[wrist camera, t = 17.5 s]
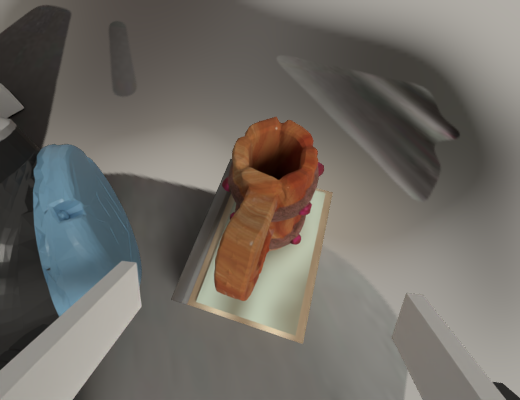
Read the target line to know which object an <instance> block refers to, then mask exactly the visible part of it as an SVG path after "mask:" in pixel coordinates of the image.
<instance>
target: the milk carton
mask: <svg viewBox="0 0 520 400" xmlns="http://www.w3.org/2000/svg"><path fill="white" fill-rule="evenodd" d="M22 109H24V107H23V106H22V104H21V103H20V102H19V101H18V100H17V99H16V98H15V97H14V96H13V95H12V94H11V92H10V91H9V90H8V89H6V88H5V87H4V86H3V85H2V84H1V83H0V117H4V118H8V117H10V116H11V115H13V114H15V113H17V112H18V111H20V110H22Z"/></svg>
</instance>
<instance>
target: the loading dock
mask: <svg viewBox="0 0 520 400" xmlns="http://www.w3.org/2000/svg"><path fill="white" fill-rule="evenodd" d="M231 164H232V159H230V162H229V164H228V166H227V169H226V171H225V173H224V176H223V178H222V180H221V183H220V185H219V187H218V190H217V192H216V194H215V197H214V199H213V202H212V204H211V206H210V209H209V211H208V213H207V216H206V218H205V220H204V223H203V225H202V227H201V230H200V232H199V234H198V237H197V239H196V241H195V244H194V246H193V249H192V251H191V253H190V256H189V258H188V260H187V263H186V265H185V267H184V270H183V272H182V274H181V277H180V279H179V281H178V284H177V286H176V288H175V291H174V293H173V296H172V298H171V300H173V301H176V302H179V303H183V304H188V305H191V306H194V307H197V308H200V309H203V310H205V311H208V312H211V313H214V314H217V315H220V316H223V317H226V318H229V319H232V320H235V321H238V322H240V323H243V324H246V325H249V326H252V327H255V328H258V329H261V330H264V331H267V332H270V333H272V334H275V335H278V336H281V337H284V338H287V339H290V340H293V341H296V342H299V343H302V344H303V340H304V335H305V330H306V325H307V320H308V315H309V310H310V304H311V299H312V294H313V289H314V284H315V279H316V274H317V269H318V264H319V259H320V254H321V249H322V244H323V239H324V233H325V228H326V223H327V218H328V213H329V208H330V203H331V198H332V192H329V191H325V190H320V189H317V188H316V190H315V192H314V195H313V197H312V199H311V201H310V202H311V204H312V207H311V210H310V213H309V214H308V215H306V218H305V222H304V225H303V227H302V230H301V232H300V233H299V234H300V236H301V242H300V243H299V244H297V245H294V244H291V243H290V244H288V245H286V246H284V247H282V248H279V249H277V250H272V251H268V253H267V254H266V257H265V262H264V264H263V268H262V271H261V273H260V274H259V278H258V280H257V282H256V284H255V287H254V289H253V291H252V293H251V295H250V296H249V298H248V299H247V300H246V301H241V300H238V299H234V298H231V297H229V296H227V295H224V294H221V293H219V292H217V290H216V288H215V283H214V271H215V259H216V255H217V251H218V248H219V245H220V241H221V238H222V235H223V233H224V231H225V229H226V227H227V225H228V223H229V222H230V214H232V213H233V212H235V208H236V202H235V201H234V198H233V196H232V194H231V192H228V191H226V190H225V189H224V188H223V187H222V183H223V181H224V180H225V179H226V178H227V177H228V176H229V171H230V167H231Z"/></svg>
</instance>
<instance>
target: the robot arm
mask: <svg viewBox="0 0 520 400" xmlns="http://www.w3.org/2000/svg"><path fill="white" fill-rule="evenodd" d="M141 275H142V269H141V259H140V254H139V250H138V246H137V243H136V239H135V236H134V233H133V231H132V228H131V225H130V223H129V220H128V218H127V216H126V214H125V211H124V209H123V207H122V205H121V203H120V201H119V199H118V198H117V196H116V194H115V192H114V190H113V189H112V187H111V185H110V184H109V182H108V181H107V179H106V178H105V176H104V175H103V173H102V172H101V171H100V169H99V168H98V166H97V165H96V164H95V163H94V162H93V161H92V160H91V159H90V158H88V157H87V156H86V155H85V153H84V152H83V151H82V150H80V149H79V148H77V147H76V146H73V145H69V144H65V145H55V144H53V145H48V146H45V147H43V148H42V149H39V148H38V147H37V146H36V145H35V144H34V143H33V142H32V141H31V140H30V139H29V138H28V137H27V136H26V135H25V134H24V132H23V131H22V130H21V129H20V128H19V127H18V126H17V125H16V124H15V123H14V122H13V121H12V120H11V119H8V118H4V117H0V400H73V398H74V397H75V396H76V394H77V393H78V392H79V390H80V389H81V387H82V386H83V385H84V383H85V382H86V381H87V379H88V378H89V377H90V375H91V374H92V373H93V371H94V370H95V369H96V367H97V366H98V365H99V363H100V362H101V360H102V359H103V358H104V356H105V355H106V354H107V352H108V351H109V350H110V348H111V347H112V346H113V344H114V343H115V342H116V340H117V339H118V338H119V336H120V335H121V333H122V332H123V331H124V329H125V328H126V327H127V325H128V324H129V323H130V321H131V320H132V319H133V317H134V316H135V315H136V313H137V312H138V311H139V309H140V308H141V298H140V289H139V286H140V283H141ZM392 339H393V341H394V343H395V345H396V347H397V349H398V351H399V353H400V355H401V357H402V359H403V361H404V363H405V365H406V367H407V369H408V371H409V373H410V375H411V377H412V379H413V381H414V383H415V385H416V387H417V389H418V391H419V393H420V395H421V397H422V399H423V400H520V398H519V397H518V396H517V395H516V394H514V393H513V392H512V391H511V390H509V388H507V387H506V386H505V385H504V384H503V383H497V382H491V380H490V379H489V377H488V376H487V375H486V374H485V372H484V371H483V370H482V369H481V367H480V366H479V365H478V364H477V362H476V361H475V360H474V358H473V357H472V356H471V355H470V353H469V352H468V351H467V350H466V348H465V347H464V346H463V345H462V343H461V342H460V341H459V339H458V338H457V337H456V336H455V334H454V333H453V332H452V331H451V330H450V328H449V327H448V326H447V324H446V323H445V322H444V320H443V319H442V318H441V317H440V316H439V314H438V313H437V312H436V310H435V309H434V308H433V307H432V305H431V304H430V303H429V302H428V300H427V299H426V298H425V297H424V295H421V294H412V293H406V296H405V298H404V302H403V305H402V308H401V311H400V314H399V317H398V320H397V323H396V326H395V329H394V332H393V335H392Z"/></svg>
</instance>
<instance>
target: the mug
mask: <svg viewBox="0 0 520 400" xmlns="http://www.w3.org/2000/svg"><path fill="white" fill-rule="evenodd" d="M232 152H233V153H232V164H231V167H230V171H229V176H228V177H227V178H226V179H225V180H224V181H223V183H222V187H223V188H224V189H225V190H226V191H228V192H231V194H232V196H233V198H234V201H235V202H236V208H235V212H233V213H232V214H230V222H229V223H228V225H227V227H226V229H225V231H224V233H223V235H222V238H221V241H220V245H219V248H218V251H217V255H216V259H215V271H214V283H215V288H216V290H217V292H219V293H221V294H224V295H227V296H229V297H231V298H234V299H238V300H241V301H246V300H247V299H248V298H249V296H250V295H251V293H252V291H253V289H254V287H255V284H256V282H257V280H258V278H259V274H260V273H261V271H262V268H263V264H264V262H265V257H266V254H267V253H268V251H272V250H277V249H279V248H282V247H284V246H286V245H288V244H290V243H291V244H294V245H297V244H299V243H300V242H301V236H300V234H299V233H300V232H301V230H302V227H303V225H304V222H305V218H306V215H308V214H309V213H310V210H311V207H312V204H311V202H310V201H311V199H312V197H313V195H314V192H315V190H316V187H317V183H318V177H319V176H320V175H321V174H322V173H323V171H324V166H323V165H322V164H321V163H319V162H318V158H317V154H318V153H317V152H318V151H317V149H316V148H314V147H313V138H312V136H311V134H310V133H309V132H308V131H307V130H305V129H304V128H303V127H301V126H300V125H298V124H296V123H295V122H293V121H291V120H287V121H286V122H285V123H280V122H279V121H278V119H277V117H274V118H270V119H267V120H263V121H259V122H257V123H255V124H252V125H251V126H250V127H249V128H248V130H247V132H246V133H245V136H244V137H241V138H238V140H237V141H236V144H235V146H234V148H233V151H232Z"/></svg>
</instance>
